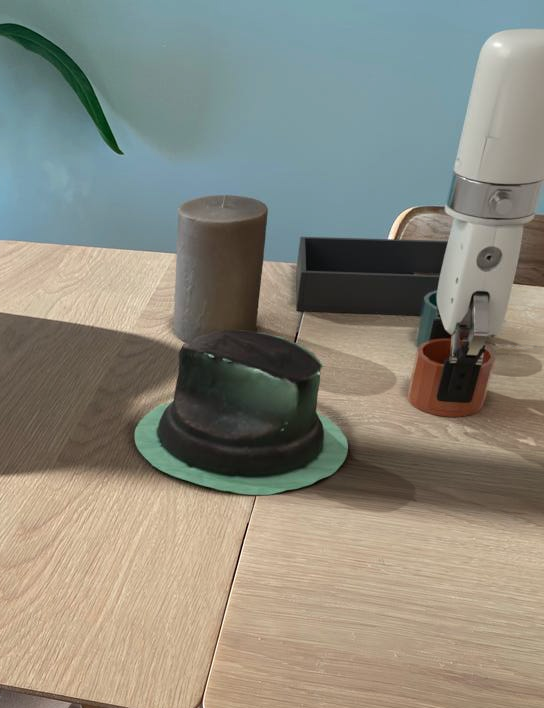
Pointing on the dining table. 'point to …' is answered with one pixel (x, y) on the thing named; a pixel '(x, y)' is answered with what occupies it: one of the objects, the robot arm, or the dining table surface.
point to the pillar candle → (218, 264)
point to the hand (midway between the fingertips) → (446, 379)
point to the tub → (366, 274)
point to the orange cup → (429, 376)
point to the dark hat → (244, 417)
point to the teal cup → (427, 318)
